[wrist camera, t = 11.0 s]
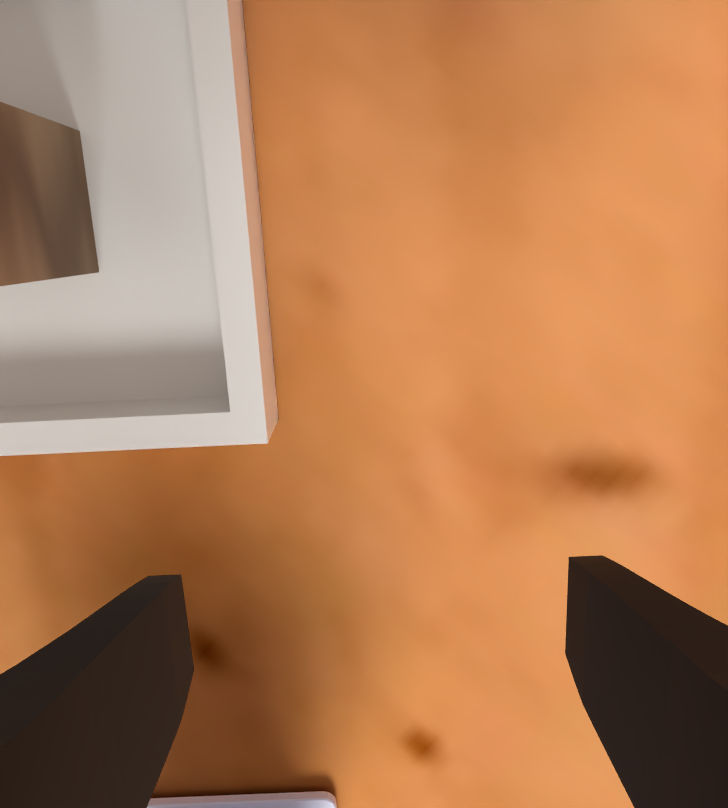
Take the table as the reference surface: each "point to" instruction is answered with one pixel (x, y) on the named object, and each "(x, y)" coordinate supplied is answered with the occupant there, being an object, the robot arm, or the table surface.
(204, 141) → the white tray
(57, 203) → the brown rectangular block
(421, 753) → the table surface
